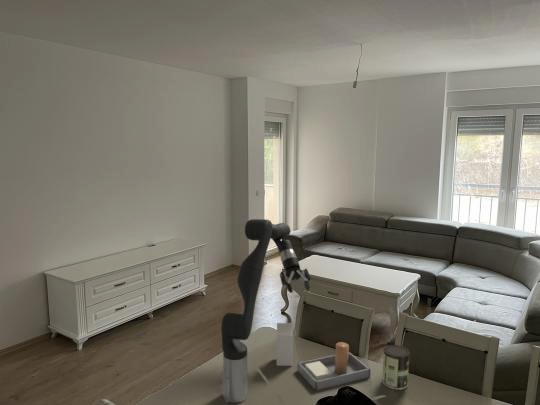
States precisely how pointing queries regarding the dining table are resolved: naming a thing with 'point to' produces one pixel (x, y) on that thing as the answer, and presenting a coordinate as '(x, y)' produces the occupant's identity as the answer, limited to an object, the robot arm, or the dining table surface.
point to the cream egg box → (318, 370)
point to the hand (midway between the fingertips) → (299, 290)
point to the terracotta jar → (341, 358)
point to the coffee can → (395, 367)
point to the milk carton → (284, 344)
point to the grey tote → (354, 372)
